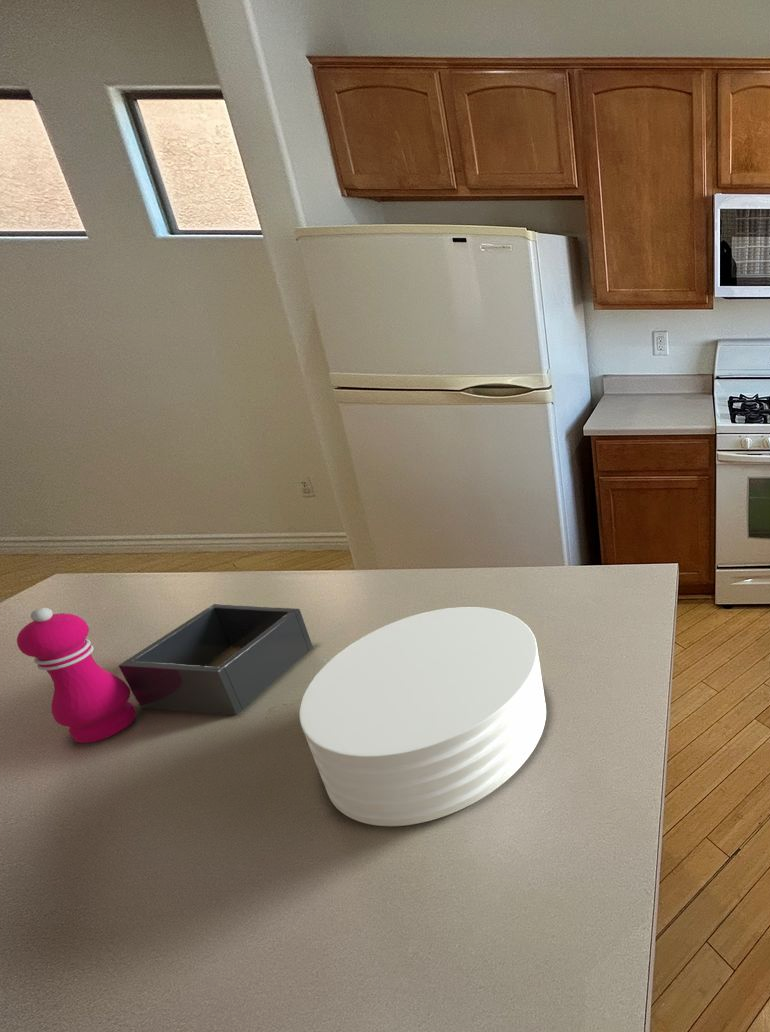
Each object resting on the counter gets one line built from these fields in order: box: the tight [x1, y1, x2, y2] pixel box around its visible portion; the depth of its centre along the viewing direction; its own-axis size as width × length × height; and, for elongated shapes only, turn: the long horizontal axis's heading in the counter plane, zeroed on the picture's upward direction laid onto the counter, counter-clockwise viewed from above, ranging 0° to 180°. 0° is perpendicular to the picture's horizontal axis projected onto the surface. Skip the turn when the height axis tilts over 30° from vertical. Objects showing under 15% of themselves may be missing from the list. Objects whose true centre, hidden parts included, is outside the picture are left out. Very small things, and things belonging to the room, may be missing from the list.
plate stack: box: [299, 606, 547, 827], centre depth 76 cm, size 28×28×12 cm
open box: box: [117, 603, 314, 716], centre depth 86 cm, size 15×15×8 cm
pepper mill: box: [16, 607, 137, 744], centre depth 74 cm, size 7×7×20 cm
